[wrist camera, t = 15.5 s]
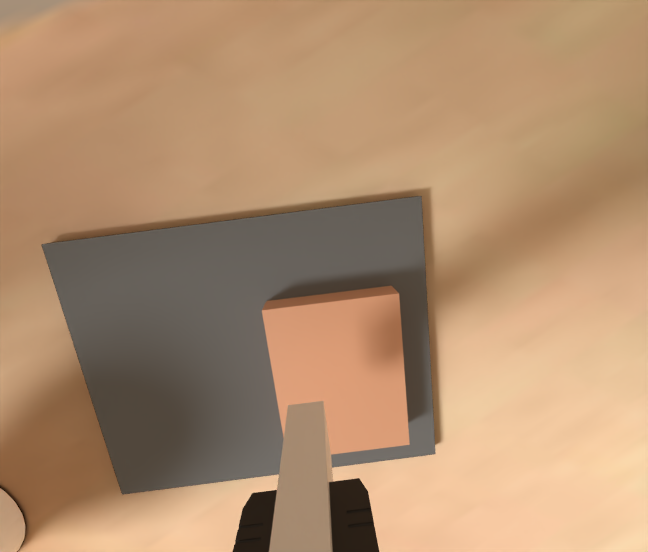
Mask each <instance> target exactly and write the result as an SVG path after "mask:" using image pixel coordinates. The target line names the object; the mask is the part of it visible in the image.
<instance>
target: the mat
mask: <svg viewBox="0 0 648 552" xmlns="http://www.w3.org/2000/svg"><path fill="white" fill-rule="evenodd" d="M42 248H43V251H44V254H45V257H46V260H47V263H48V266H49V269H50V272H51V275H52V279H53V282H54V285H55V288H56V291H57V294H58V297H59V300H60V303H61V306H62V310H63V313H64V316H65V319H66V322H67V325H68V328H69V331H70V334H71V338H72V341H73V344H74V347H75V350H76V353H77V356H78V359H79V362H80V365H81V369H82V372H83V375H84V378H85V381H86V384H87V387H88V390H89V393H90V396H91V400H92V403H93V406H94V409H95V412H96V415H97V418H98V421H99V424H100V427H101V431H102V434H103V437H104V440H105V443H106V446H107V449H108V452H109V455H110V458H111V462H112V465H113V468H114V471H115V474H116V477H117V480H118V483H119V486H120V489H121V493H122V494H130V493H138V492H145V491H153V490H161V489H169V488H176V487H184V486H192V485H200V484H207V483H215V482H223V481H231V480H238V479H246V478H254V477H262V476H269V475H277V474H279V471H280V463H281V455H282V448H283V440H284V437H283V431H282V425H281V420H280V414H279V408H278V402H277V396H276V390H275V385H274V379H273V373H272V367H271V361H270V356H269V350H268V344H267V338H266V332H265V326H264V321H263V315H262V309H263V307H264V305H265V303H266V301H271V300H279V299H287V298H295V297H303V296H311V295H320V294H328V293H336V292H344V291H352V290H360V289H368V288H376V287H384V286H392V287H393V288H394V289H395V290H396V291H397V292H398V293H399V300H400V314H401V328H402V343H403V357H404V371H405V386H406V400H407V414H408V429H409V443H410V445H403V446H395V447H387V448H379V449H371V450H363V451H355V452H347V453H339V454H331V461H332V467H339V466H347V465H355V464H362V463H370V462H378V461H386V460H393V459H401V458H409V457H417V456H425V455H432V454H435V437H434V419H433V400H432V382H431V364H430V345H429V327H428V308H427V290H426V272H425V253H424V235H423V216H422V198H421V196H416V197H408V198H400V199H392V200H385V201H377V202H369V203H361V204H353V205H345V206H337V207H330V208H322V209H314V210H306V211H298V212H290V213H282V214H275V215H267V216H259V217H251V218H243V219H235V220H227V221H220V222H212V223H204V224H196V225H188V226H180V227H172V228H165V229H157V230H149V231H141V232H133V233H125V234H117V235H110V236H102V237H94V238H86V239H78V240H70V241H62V242H55V243H47V244H42Z"/></svg>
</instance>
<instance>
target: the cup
mask: <svg viewBox="0 0 648 552" xmlns="http://www.w3.org/2000/svg"><path fill="white" fill-rule="evenodd" d="M24 537H25V523H24V519H23V515H22V513H21V511H20V509H19V508H18V506H17V504H16V503H15V501H14V500H13V499H12V498H11V497H10V496H9V495H8V494H7V493H6V492H5V491H4V490H2V489H0V552H17V551H18V550H19V549H20V546H21V544H22V542H23V540H24Z"/></svg>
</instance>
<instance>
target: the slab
mask: <svg viewBox="0 0 648 552" xmlns="http://www.w3.org/2000/svg"><path fill="white" fill-rule="evenodd" d="M262 315H263V321H264V326H265V332H266V338H267V344H268V350H269V356H270V361H271V367H272V373H273V379H274V385H275V390H276V396H277V402H278V408H279V414H280V420H281V425H282V431H283V437H284V432H285V424H286V417H287V409H288V405H294V404H302V403H310V402H317V401H324V408H325V415H326V422H327V430H328V437H329V444H330V451H331V454H339V453H347V452H355V451H363V450H371V449H379V448H387V447H395V446H403V445H410V443H409V429H408V414H407V400H406V386H405V371H404V357H403V343H402V328H401V314H400V300H399V293H398V292H397V291H396V290H395V289H394V288H393V287H392V286H384V287H376V288H368V289H360V290H352V291H344V292H336V293H328V294H320V295H311V296H303V297H295V298H287V299H279V300H271V301H266V303H265V305H264V307H263V309H262Z"/></svg>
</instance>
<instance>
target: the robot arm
mask: <svg viewBox="0 0 648 552" xmlns="http://www.w3.org/2000/svg"><path fill="white" fill-rule="evenodd" d="M235 541H236V543H235V545H234V549H233V552H379V548H378V543H377V538H376V532H375V527H374V522H373V516H372V511H371V506H370V500H369V495H368V491H367V489H366V488H365V487H364V485H363V484H362V482H361V481H360V479H359V478H358V479H351V480H343V481H335V482H333V476H332V461H331V451H330V444H329V437H328V430H327V422H326V415H325V408H324V401H317V402H310V403H302V404H294V405H288V409H287V417H286V424H285V432H284V440H283V448H282V455H281V463H280V471H279V478H278V486H277V490H274V491H266V492H258V493H252V495H251V497H250V498H249V500H248V501H247V503H246V505H245V506H244V508H243V510H242V515H241V519H240V523H239V530H238V532H237V536H236V540H235Z"/></svg>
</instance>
